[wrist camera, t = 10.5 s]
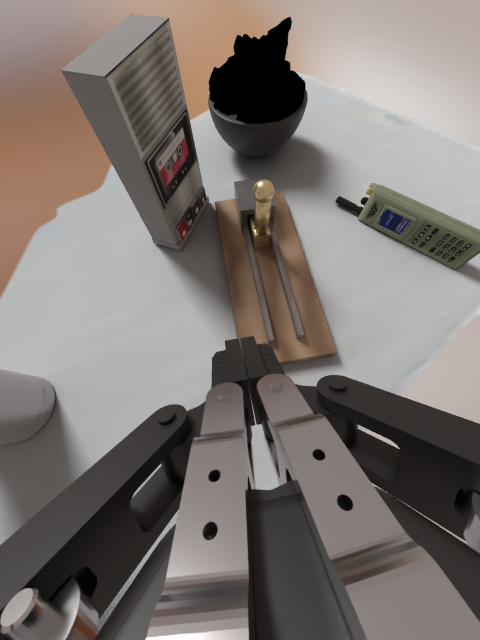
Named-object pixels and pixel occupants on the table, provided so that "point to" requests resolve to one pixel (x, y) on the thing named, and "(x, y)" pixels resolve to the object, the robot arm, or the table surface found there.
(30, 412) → the robot arm
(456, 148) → the table surface
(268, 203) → the brass bolt
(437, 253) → the handheld radio
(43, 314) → the table surface
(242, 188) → the steel keeper
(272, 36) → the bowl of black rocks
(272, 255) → the wooden track base
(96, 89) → the cassette tape recorder
